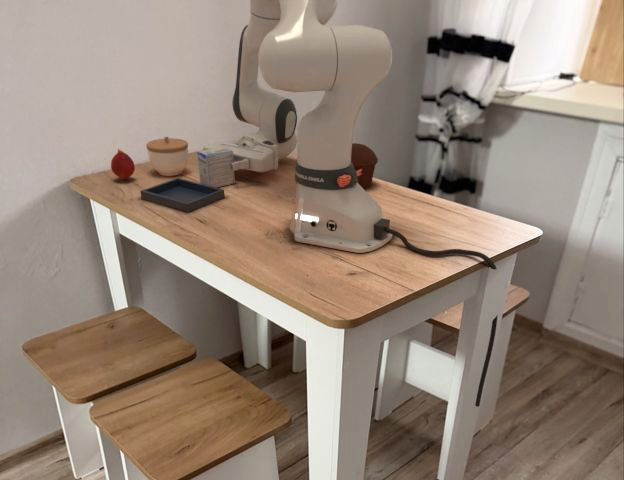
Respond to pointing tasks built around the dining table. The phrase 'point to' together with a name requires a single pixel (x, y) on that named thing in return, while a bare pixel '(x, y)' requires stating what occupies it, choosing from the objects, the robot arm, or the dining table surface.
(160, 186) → the tray
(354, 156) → the muffin
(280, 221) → the dining table surface
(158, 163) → the trinket box
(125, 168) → the onion
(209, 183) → the medicine box
